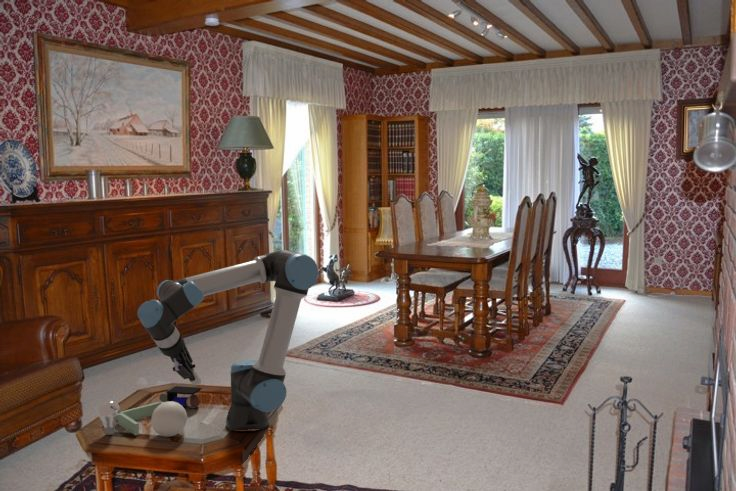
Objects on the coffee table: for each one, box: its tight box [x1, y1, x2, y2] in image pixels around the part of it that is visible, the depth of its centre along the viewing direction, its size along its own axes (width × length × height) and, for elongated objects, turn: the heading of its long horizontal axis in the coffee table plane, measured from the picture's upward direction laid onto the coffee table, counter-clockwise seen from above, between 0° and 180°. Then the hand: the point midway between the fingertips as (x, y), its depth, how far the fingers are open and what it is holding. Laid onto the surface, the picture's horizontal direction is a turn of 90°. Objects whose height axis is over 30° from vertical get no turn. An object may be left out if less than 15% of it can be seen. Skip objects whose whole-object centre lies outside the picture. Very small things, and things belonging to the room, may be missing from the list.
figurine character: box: [159, 385, 203, 409], centre depth 238 cm, size 7×8×15 cm
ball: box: [150, 401, 188, 438], centre depth 211 cm, size 12×12×12 cm
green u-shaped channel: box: [116, 400, 164, 436], centre depth 221 cm, size 14×17×4 cm
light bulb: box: [97, 399, 121, 436], centre depth 210 cm, size 7×7×12 cm
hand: (196, 382), depth 209 cm, fingers closed
